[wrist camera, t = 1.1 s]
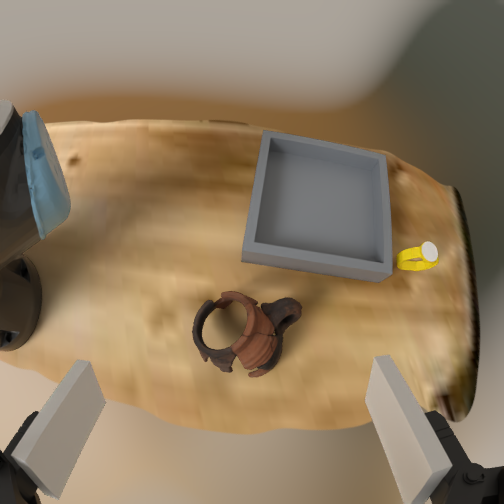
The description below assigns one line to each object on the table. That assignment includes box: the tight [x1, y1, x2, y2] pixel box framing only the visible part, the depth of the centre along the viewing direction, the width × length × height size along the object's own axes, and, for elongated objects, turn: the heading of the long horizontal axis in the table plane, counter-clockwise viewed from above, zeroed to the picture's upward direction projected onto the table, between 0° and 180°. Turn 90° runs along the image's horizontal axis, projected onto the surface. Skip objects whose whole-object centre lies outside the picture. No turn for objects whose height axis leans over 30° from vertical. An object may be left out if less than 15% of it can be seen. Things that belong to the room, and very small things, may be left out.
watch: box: [396, 241, 439, 271], centre depth 38 cm, size 6×3×6 cm, turn 85°
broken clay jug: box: [192, 291, 302, 377], centre depth 34 cm, size 12×10×8 cm
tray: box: [241, 130, 392, 283], centre depth 41 cm, size 18×18×4 cm
